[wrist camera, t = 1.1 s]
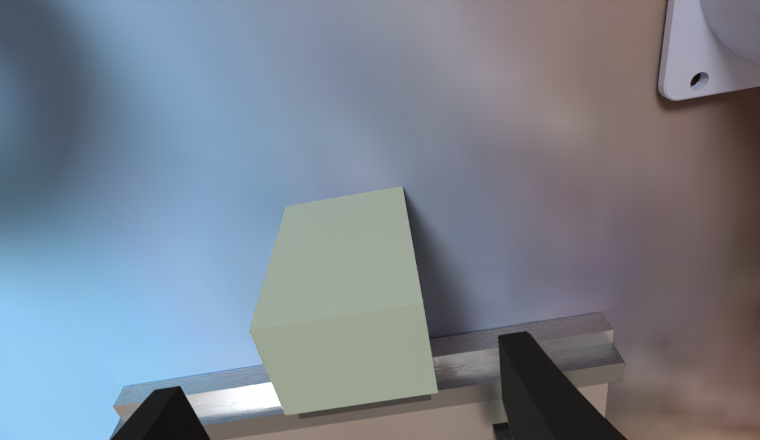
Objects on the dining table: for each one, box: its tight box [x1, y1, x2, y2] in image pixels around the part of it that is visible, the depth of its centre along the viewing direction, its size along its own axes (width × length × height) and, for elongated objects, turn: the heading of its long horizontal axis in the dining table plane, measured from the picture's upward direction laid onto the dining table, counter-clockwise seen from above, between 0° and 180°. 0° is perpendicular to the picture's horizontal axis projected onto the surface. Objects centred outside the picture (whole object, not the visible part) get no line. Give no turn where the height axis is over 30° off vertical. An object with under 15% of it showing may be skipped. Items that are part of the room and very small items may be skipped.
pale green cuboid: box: [249, 186, 438, 419], centre depth 14 cm, size 4×4×6 cm
